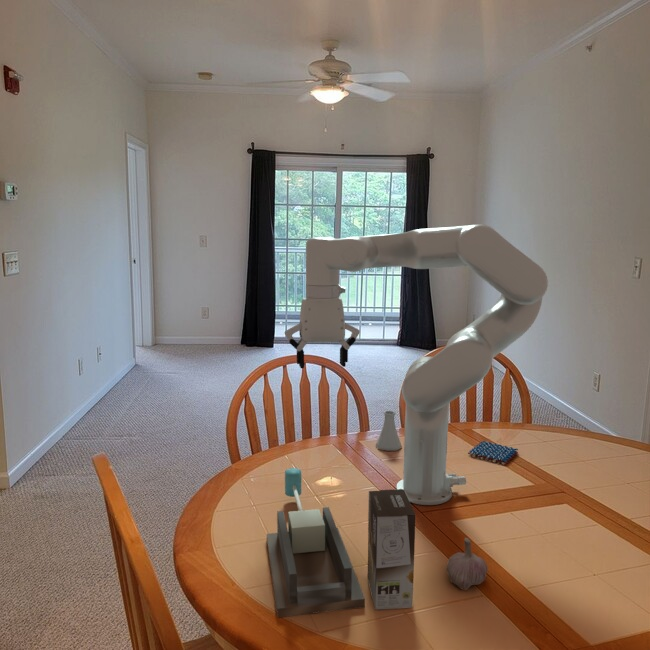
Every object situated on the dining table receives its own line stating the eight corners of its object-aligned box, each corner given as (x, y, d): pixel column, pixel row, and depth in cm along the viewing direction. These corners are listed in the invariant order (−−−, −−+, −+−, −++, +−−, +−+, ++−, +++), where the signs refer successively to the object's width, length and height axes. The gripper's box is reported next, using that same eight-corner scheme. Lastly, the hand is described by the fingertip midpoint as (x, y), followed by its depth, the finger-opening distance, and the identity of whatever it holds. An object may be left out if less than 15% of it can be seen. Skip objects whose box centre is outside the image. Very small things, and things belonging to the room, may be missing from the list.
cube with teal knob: (305, 489, 126) (305, 467, 126) (324, 550, 102) (325, 524, 102) (278, 491, 125) (278, 469, 125) (292, 553, 101) (292, 527, 101)
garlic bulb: (461, 598, 92) (463, 553, 91) (435, 573, 99) (436, 531, 98) (497, 587, 95) (500, 543, 94) (470, 563, 102) (472, 522, 101)
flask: (400, 452, 152) (401, 417, 150) (374, 450, 153) (374, 415, 152) (402, 443, 159) (403, 409, 157) (377, 441, 160) (377, 407, 158)
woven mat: (481, 445, 158) (481, 439, 158) (518, 454, 152) (519, 447, 152) (466, 457, 150) (466, 450, 150) (505, 467, 144) (506, 460, 143)
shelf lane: (337, 534, 111) (337, 503, 110) (364, 607, 90) (365, 570, 89) (266, 540, 109) (266, 509, 108) (277, 617, 87) (277, 579, 86)
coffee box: (414, 608, 90) (417, 515, 87) (374, 610, 89) (376, 517, 86) (401, 573, 99) (404, 488, 96) (365, 575, 98) (367, 489, 95)
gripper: (355, 290, 132) (355, 361, 135) (282, 291, 129) (283, 363, 132) (363, 293, 125) (362, 368, 128) (286, 295, 122) (286, 371, 125)
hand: (322, 366), depth 130 cm, fingers open, 9 cm apart
